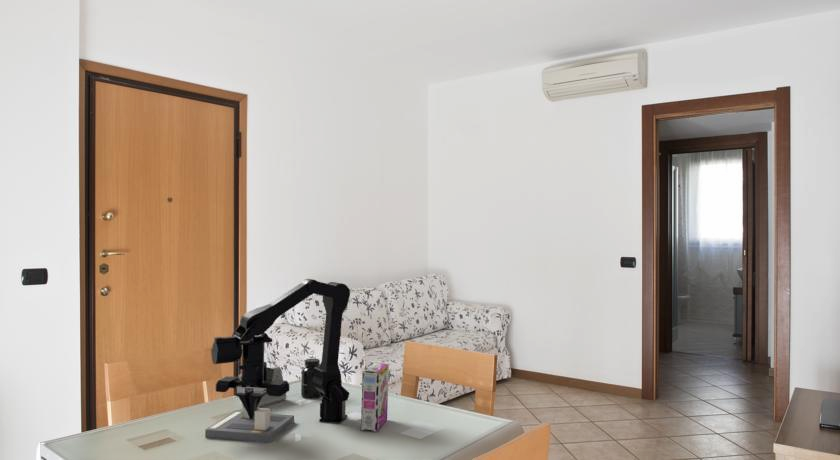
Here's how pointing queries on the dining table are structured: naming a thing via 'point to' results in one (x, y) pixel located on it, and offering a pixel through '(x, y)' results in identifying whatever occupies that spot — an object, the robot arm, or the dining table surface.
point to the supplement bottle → (309, 379)
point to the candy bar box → (374, 397)
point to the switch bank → (248, 428)
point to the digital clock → (266, 398)
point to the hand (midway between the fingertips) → (252, 418)
